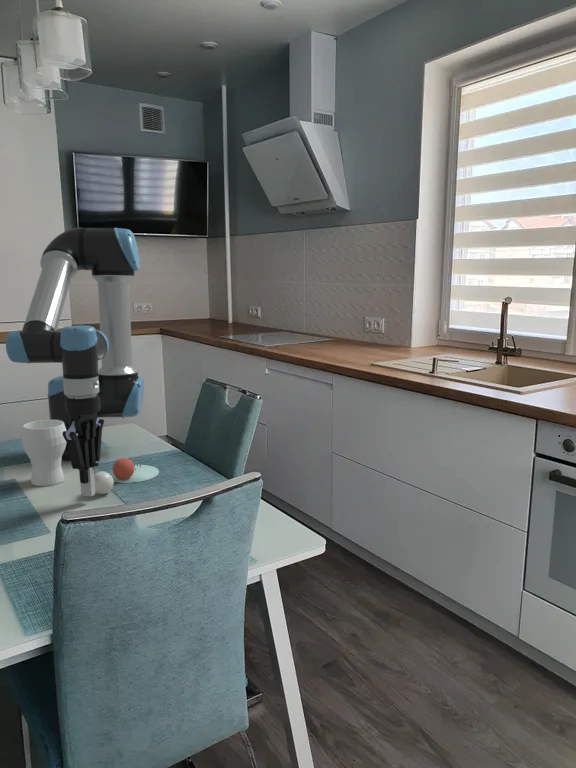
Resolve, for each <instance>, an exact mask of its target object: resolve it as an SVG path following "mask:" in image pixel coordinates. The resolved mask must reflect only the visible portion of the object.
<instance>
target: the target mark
mask: <svg viewBox="0 0 576 768" xmlns="http://www.w3.org/2000/svg"><path fill="white" fill-rule="evenodd" d="M134 465H135V466H134V467H135V469H136V470H134V473H133V475H132V476H131V477H130V478H128V479H125V480H121V479H118V478H117V477H115V475H114V474H113V473H112V472H110V471H112V470H113V468H111V469H109V470H108V471H109V472H110V473H109V472H108V471H107V472H108V473H109V474H111V476H112V477H113V481H114V482H121V483H120V484H133V483H132V482H137V483H142V481H143V482H146V480H147V481H149V480H152V479H154V478H156V477H158V475H159V473H160V470H159V469H158V468H157V467H155V466H152V465H148V464H147V465H146V464H134ZM137 465H138V466H137ZM140 465H141V467H140Z"/></svg>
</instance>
